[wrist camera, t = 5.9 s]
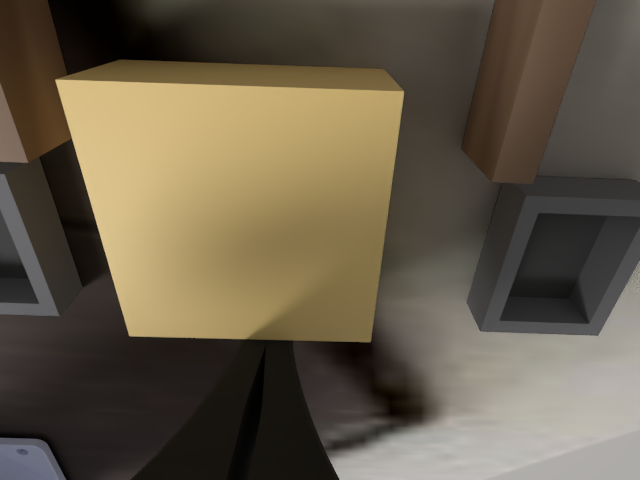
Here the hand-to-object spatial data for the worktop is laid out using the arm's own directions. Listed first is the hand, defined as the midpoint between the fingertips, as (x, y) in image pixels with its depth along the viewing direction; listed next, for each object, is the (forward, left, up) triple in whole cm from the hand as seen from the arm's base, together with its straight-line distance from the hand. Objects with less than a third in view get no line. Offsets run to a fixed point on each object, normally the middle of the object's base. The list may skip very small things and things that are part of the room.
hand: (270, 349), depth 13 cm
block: (-1, +5, -3) cm, 5 cm away
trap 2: (+9, +3, -2) cm, 10 cm away
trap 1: (-9, +3, -2) cm, 10 cm away
